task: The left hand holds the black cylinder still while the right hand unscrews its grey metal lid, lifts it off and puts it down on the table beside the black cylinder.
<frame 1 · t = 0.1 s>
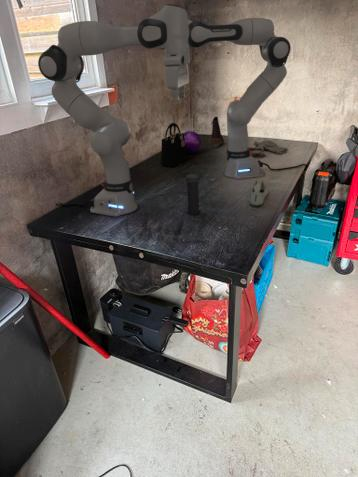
left hand: (179, 99, 126), 48 cm above the table, tool pointing down, fingers open, 8 cm apart
right hand: (179, 86, 168), 48 cm above the table, tool pointing down, fingers open, 8 cm apart
black cylinder: (193, 212, 149), on the table
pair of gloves: (259, 151, 227), on the table
boot: (217, 144, 251), on the table
lid: (192, 176, 141), point 17 cm above the table, screwed on, not yet turned
handbag: (174, 162, 216), on the table
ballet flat: (258, 197, 160), on the table
decorative orb: (190, 153, 234), on the table
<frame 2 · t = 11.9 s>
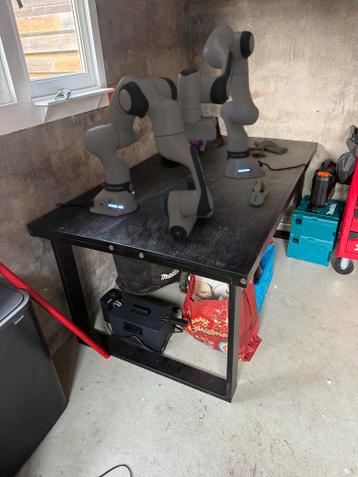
left hand: (193, 201, 148), 5 cm above the table, tool horizontal, fingers closed on black cylinder, 5 cm apart
right hand: (191, 150, 135), 28 cm above the table, tool pointing down, fingers open, 8 cm apart
black cylinder: (193, 212, 149), on the table, touching left hand
everything else where it was.
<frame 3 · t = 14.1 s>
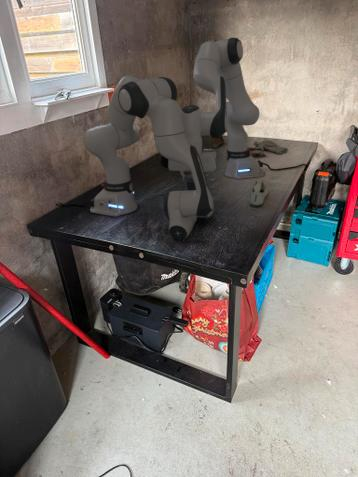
left hand: (193, 201, 148), 5 cm above the table, tool horizontal, fingers closed on black cylinder, 5 cm apart
right hand: (192, 180, 142), 15 cm above the table, tool pointing down, fingers closed on lid, 5 cm apart
black cylinder: (193, 212, 149), on the table, touching left hand
lid: (192, 176, 141), point 17 cm above the table, screwed on, not yet turned, touching right hand
everything else where it was.
when the right hand's fingers open (15 cm above the table, at t = 15.3 s): lid stays where it is, point 17 cm above the table.
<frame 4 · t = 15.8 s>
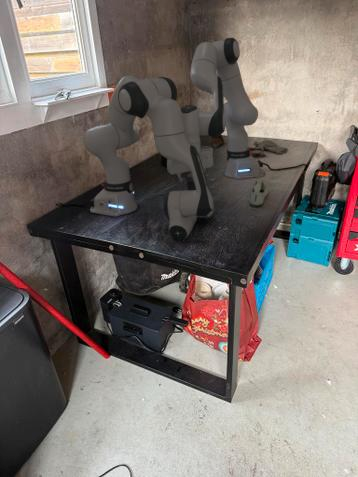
left hand: (193, 201, 148), 5 cm above the table, tool horizontal, fingers closed on black cylinder, 5 cm apart
right hand: (191, 180, 142), 15 cm above the table, tool pointing down, fingers open, 8 cm apart
black cylinder: (193, 212, 149), on the table, touching left hand
lid: (192, 176, 141), point 17 cm above the table, turned 68° so far, risen 0.2 cm, still on its thread
everything else where it was.
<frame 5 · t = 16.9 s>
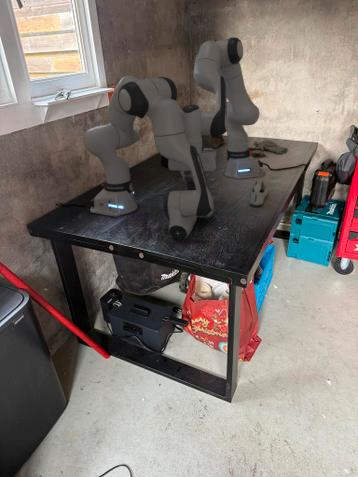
left hand: (193, 201, 148), 5 cm above the table, tool horizontal, fingers closed on black cylinder, 5 cm apart
right hand: (192, 180, 142), 15 cm above the table, tool pointing down, fingers closed on lid, 5 cm apart
black cylinder: (193, 212, 149), on the table, touching left hand
lid: (192, 176, 141), point 17 cm above the table, turned 68° so far, risen 0.2 cm, still on its thread, touching right hand
everything else where it was.
when the right hand's fingers open (2 cm above the table, at t = 22.9 s): lid drops 2 cm, point 2 cm above the table.
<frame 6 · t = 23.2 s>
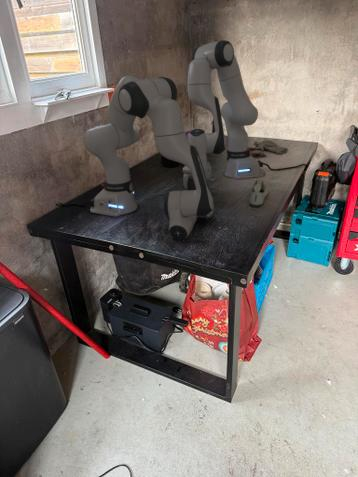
left hand: (193, 201, 148), 5 cm above the table, tool horizontal, fingers closed on black cylinder, 5 cm apart
right hand: (198, 191, 165), 2 cm above the table, tool pointing down, fingers open, 8 cm apart
black cylinder: (193, 212, 150), on the table, touching left hand
lid: (197, 193, 165), point 2 cm above the table, off its thread
everything else where it was.
when the left hand's fingers open (5 cm above the table, at t = 23.9 s): black cylinder stays where it is, on the table.
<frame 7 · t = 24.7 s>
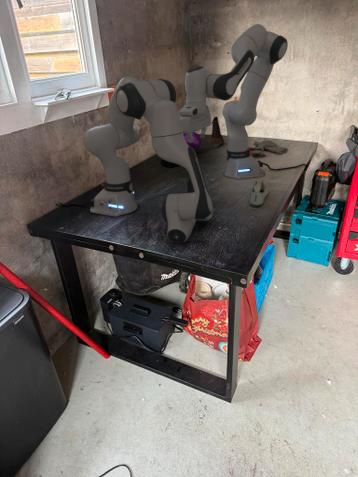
left hand: (192, 203, 145), 5 cm above the table, tool horizontal, fingers open, 8 cm apart
right hand: (197, 140, 152), 28 cm above the table, tool pointing down, fingers open, 8 cm apart
black cylinder: (193, 212, 150), on the table
everything else where it was.
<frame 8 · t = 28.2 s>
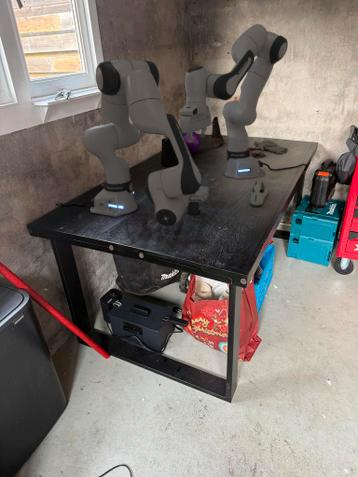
left hand: (186, 185, 130), 18 cm above the table, tool horizontal, fingers open, 8 cm apart
right hand: (197, 139, 152), 28 cm above the table, tool pointing down, fingers open, 8 cm apart
nothing on the table moved.
at the end: lid came off its thread; lid point 1.7 cm above the table; the left hand is holding nothing; the right hand is holding nothing; black cylinder tilted 0°; black cylinder moved 0.1 cm from its start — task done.
